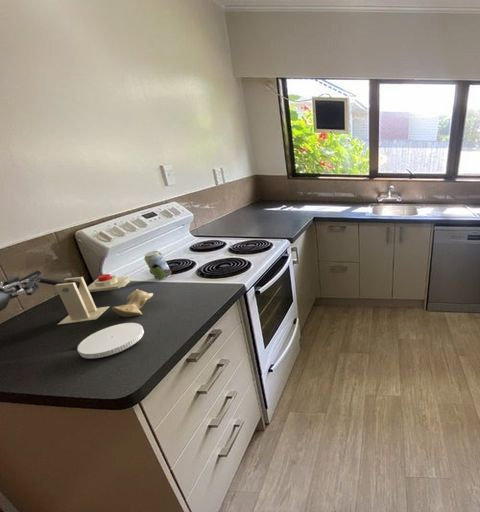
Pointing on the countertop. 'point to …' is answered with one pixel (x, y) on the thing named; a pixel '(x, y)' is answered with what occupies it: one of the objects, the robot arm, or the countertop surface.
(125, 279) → the block
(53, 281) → the lever
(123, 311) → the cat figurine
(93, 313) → the bracket
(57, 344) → the countertop surface
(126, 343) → the plastic lid
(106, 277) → the stop button
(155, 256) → the beverage can
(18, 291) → the robot arm
